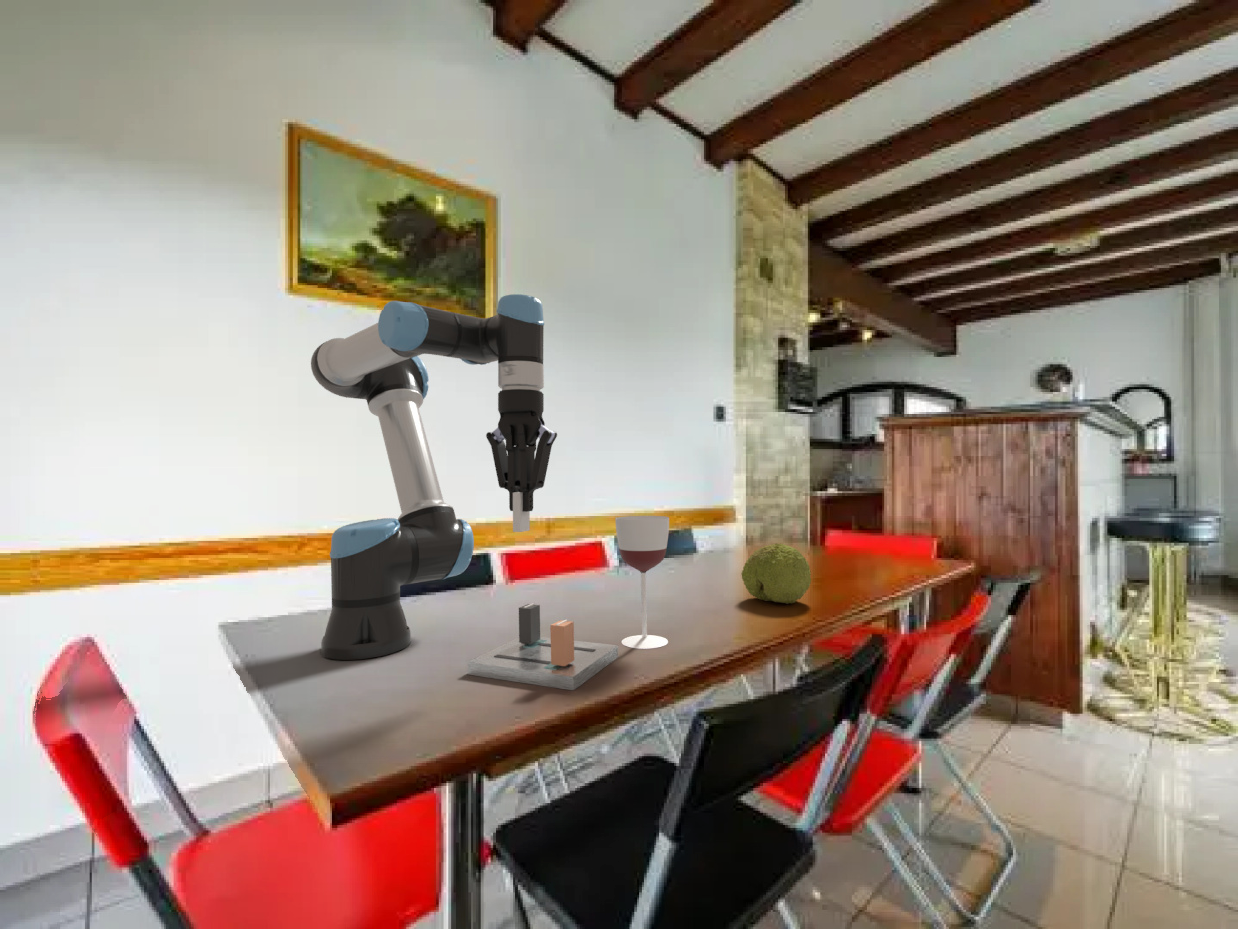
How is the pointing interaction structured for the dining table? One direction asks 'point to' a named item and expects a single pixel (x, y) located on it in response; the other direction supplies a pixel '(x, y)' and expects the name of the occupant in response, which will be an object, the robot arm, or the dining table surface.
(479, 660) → the console
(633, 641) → the wineglass
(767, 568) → the fruit
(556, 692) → the dining table surface
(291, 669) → the dining table surface
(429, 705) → the dining table surface
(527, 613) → the fader black
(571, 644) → the block
